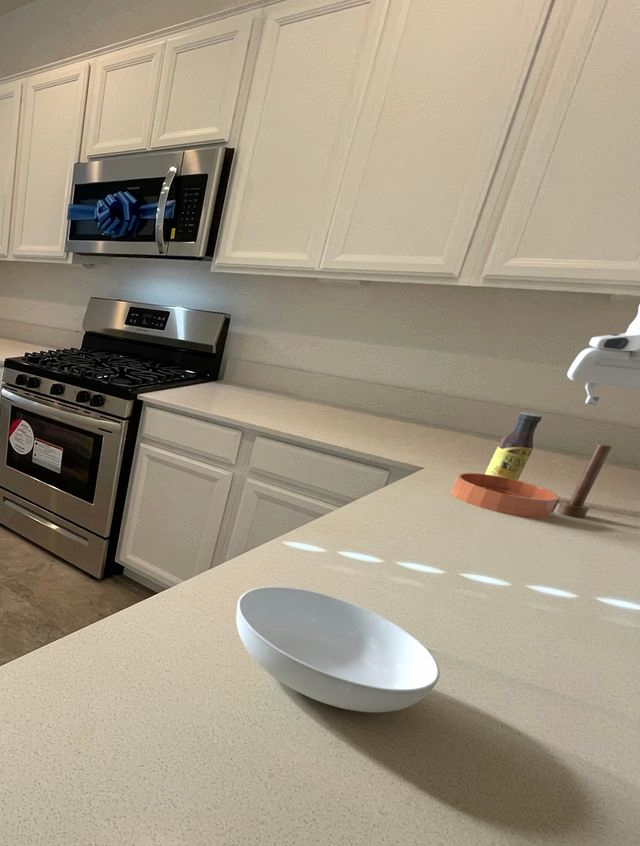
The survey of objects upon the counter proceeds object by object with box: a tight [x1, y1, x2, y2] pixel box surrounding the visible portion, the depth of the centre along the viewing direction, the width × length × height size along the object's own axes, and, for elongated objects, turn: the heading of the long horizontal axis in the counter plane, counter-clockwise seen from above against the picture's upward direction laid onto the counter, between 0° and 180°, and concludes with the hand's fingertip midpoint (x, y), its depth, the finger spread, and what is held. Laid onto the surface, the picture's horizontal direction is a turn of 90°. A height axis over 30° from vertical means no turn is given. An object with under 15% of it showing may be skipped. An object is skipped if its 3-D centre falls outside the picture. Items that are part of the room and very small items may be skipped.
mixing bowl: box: [449, 472, 561, 520], centre depth 135 cm, size 17×17×6 cm
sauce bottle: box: [484, 412, 543, 481], centre depth 148 cm, size 7×6×20 cm
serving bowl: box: [235, 586, 440, 713], centre depth 73 cm, size 21×21×7 cm
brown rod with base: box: [557, 443, 613, 519], centre depth 133 cm, size 4×4×17 cm
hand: (621, 408), depth 127 cm, fingers open, 8 cm apart
